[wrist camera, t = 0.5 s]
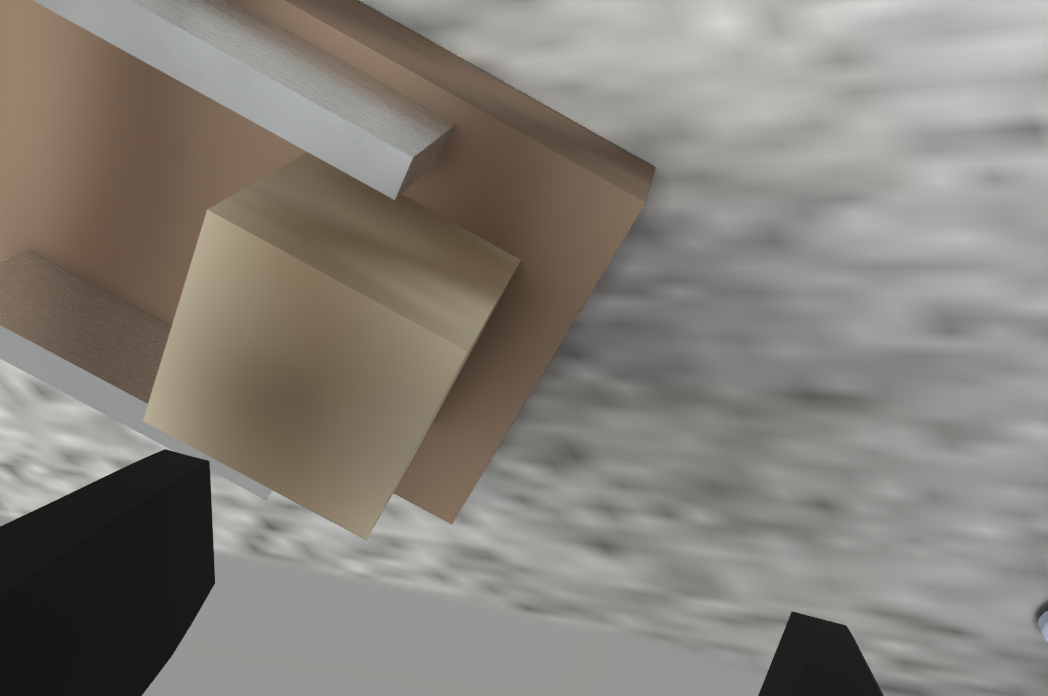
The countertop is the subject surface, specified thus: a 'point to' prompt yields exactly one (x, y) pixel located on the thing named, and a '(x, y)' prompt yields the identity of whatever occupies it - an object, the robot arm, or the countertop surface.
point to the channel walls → (253, 92)
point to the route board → (254, 152)
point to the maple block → (323, 336)
